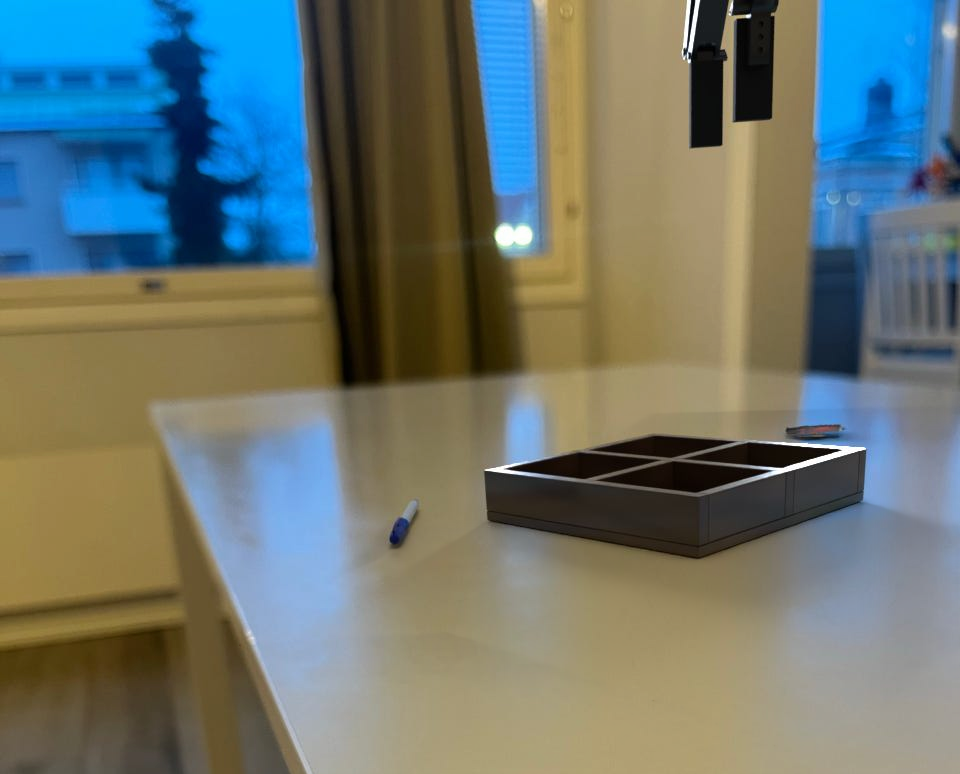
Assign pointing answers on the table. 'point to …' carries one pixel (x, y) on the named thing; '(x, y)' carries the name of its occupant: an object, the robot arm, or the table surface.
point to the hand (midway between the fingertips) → (727, 135)
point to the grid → (676, 490)
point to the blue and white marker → (403, 522)
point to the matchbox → (814, 430)
